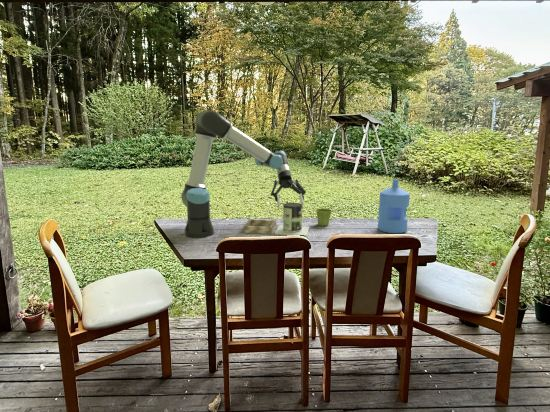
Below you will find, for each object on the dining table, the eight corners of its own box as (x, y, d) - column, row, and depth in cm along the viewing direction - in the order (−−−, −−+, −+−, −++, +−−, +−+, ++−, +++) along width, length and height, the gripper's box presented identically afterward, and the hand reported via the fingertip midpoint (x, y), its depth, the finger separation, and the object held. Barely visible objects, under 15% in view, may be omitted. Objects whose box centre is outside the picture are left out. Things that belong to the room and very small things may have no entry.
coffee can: (302, 227, 214) (303, 203, 211) (300, 233, 204) (300, 207, 201) (284, 226, 216) (285, 202, 213) (281, 231, 206) (281, 206, 203)
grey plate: (274, 234, 203) (274, 233, 203) (279, 226, 220) (279, 225, 219) (306, 236, 201) (306, 235, 200) (309, 227, 217) (309, 226, 217)
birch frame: (243, 232, 207) (243, 226, 206) (249, 224, 222) (249, 219, 221) (271, 233, 204) (271, 227, 204) (276, 226, 219) (276, 220, 218)
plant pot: (319, 221, 229) (319, 207, 227) (333, 224, 224) (334, 209, 223) (312, 225, 221) (312, 210, 219) (327, 227, 217) (328, 212, 215)
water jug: (371, 228, 216) (374, 178, 210) (392, 224, 223) (395, 177, 217) (391, 235, 203) (395, 182, 197) (413, 231, 210) (417, 180, 204)
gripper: (302, 177, 229) (310, 207, 219) (262, 178, 223) (267, 209, 212) (306, 169, 223) (314, 200, 212) (264, 170, 217) (270, 202, 206)
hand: (291, 205), depth 212 cm, fingers open, 13 cm apart
